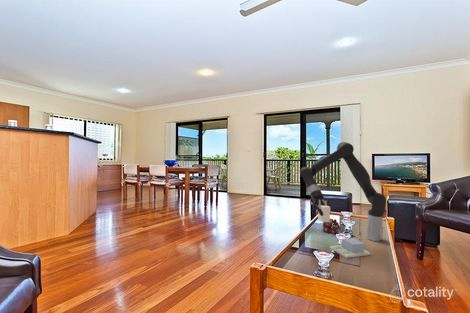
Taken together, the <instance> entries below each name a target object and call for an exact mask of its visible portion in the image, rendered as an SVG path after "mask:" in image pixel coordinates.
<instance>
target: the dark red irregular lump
mask: <svg viewBox="0 0 470 313" xmlns="http://www.w3.org/2000/svg"><path fill="white" fill-rule="evenodd" d="M322 224H323V225H322V230H323V232H324V233H326V234H327V233H329V232H330V234H332V235H336V234H337V233H340V232H341V226H340V224H339V222H338V221H337V219H336V218H335V219H333V218H330V222H322ZM335 233H336V234H335Z"/></svg>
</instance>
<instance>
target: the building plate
mask: <svg viewBox="0 0 470 313" xmlns="http://www.w3.org/2000/svg"><path fill="white" fill-rule="evenodd" d="M329 248H330V249H331V250H332V251H334V252H335V253H337V254H339V255H341V256H342V257H344V258H346V259H348V258H355V257H363V256H371V252H369V251H368V250H366V249H365V242H362V241H360V240H359V239H356V238H354V237H347V238H341V243H340V244H336V245H329Z"/></svg>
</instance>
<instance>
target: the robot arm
mask: <svg viewBox="0 0 470 313" xmlns="http://www.w3.org/2000/svg"><path fill="white" fill-rule="evenodd" d="M353 152H354V145H353V144H351V143H350V142H346V141H345V142H344V141H342V142H340V143H338V144H337V147H336V150H335V151H334V152H331V153H330V154H328V155H325V156H323V157H321V158H320V159H317V160H316V161H314V162H313V163H312V164H311V166H310V168H309V167H306V166H304V167H301V169H300V170H299V174H300V176H301V177H302V179H303V181H304V183H305V186H306V187H307V188H306V189H307V191H308V193H309V195H310V198H311V200H310V205H311V206H312V208H313V209H314V210H315V211H318V212H319V214H320V215H321V216H323V212H322V210H321V207H320V206H321V205H327V206H329V207H330V209H331V208H332V206H331V201H330V200H329V199H327V200H326V199H325V198H324V194H323V192H322V190H321V188H320V186H319V185H318V183H317V181H316V180H315V178H314V177H315V176H316V175H317V174H318V173H319V172H320V171H322V170H324V169H325V168H327V167H328V166H331V165H332V164H333V163H335V162H337V161H340V160H342V159H343V161H344V162H345V163H346V165H347V167H348V169H349V170H350V173H351V174H352V176H353V178H354V179H355V180H356V182H357V184H358V186H360V187H359V188H361V189H362V192H363V193H364V195H365V197H366V199H367V202H369V204H371V209H368V211H367V212H368V213H367V223H366V224H367V225H366V235H365V237H366V240H369V241H372V242H381V241H382V240H383V232H384V227H383V223H384V222H383V221H384V220H383V218H384V214H385V211H386V205H387V199H386V196H385V195H384V194H382V193H380V192H377V190H376V189H375V188H374V186H373V185H372V182H371V181H372V180H371V176H370V174H369V172H368V170H367V169H366V168H365V166H364V165H363V164H362V163H361V162H360V161H359V160H358V158H357V157H356V156H355V154H354V153H353ZM331 214H332V212H331V211H330V216H331ZM381 239H382V240H381ZM380 240H381V241H380Z"/></svg>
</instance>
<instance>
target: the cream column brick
mask: <svg viewBox="0 0 470 313" xmlns="http://www.w3.org/2000/svg"><path fill="white" fill-rule="evenodd" d="M320 207H321V210H322V212H323V216H321V215H320V214H319V212H318V215H317V220H318V221H319V222H322V223H323V222H330V219H331V215H330V212H331V208H330V207H329V206H327V205H321V206H320Z"/></svg>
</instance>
